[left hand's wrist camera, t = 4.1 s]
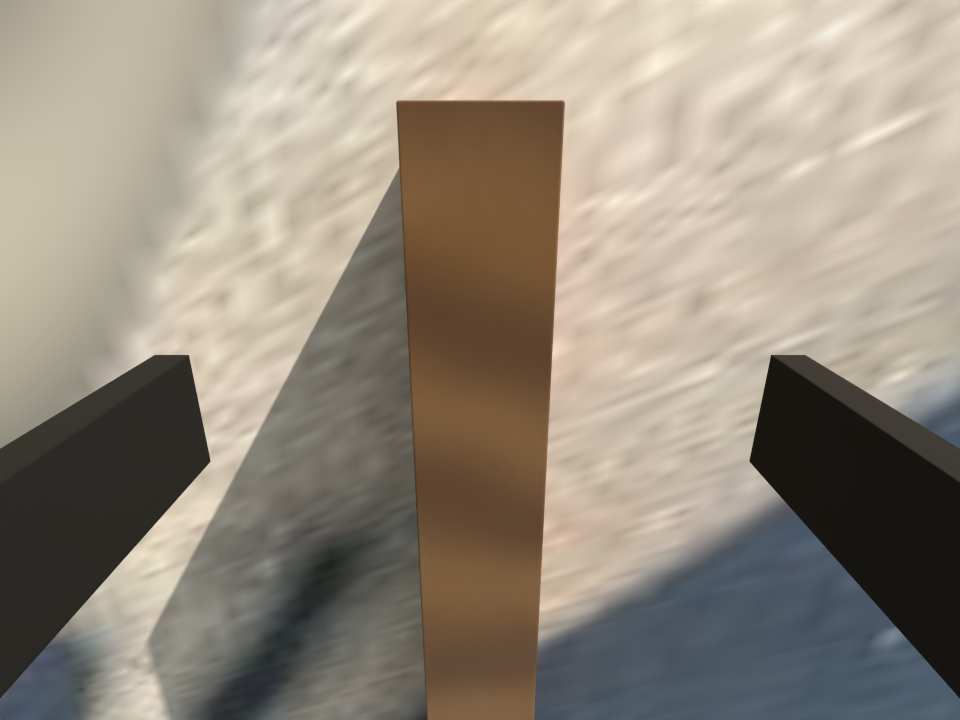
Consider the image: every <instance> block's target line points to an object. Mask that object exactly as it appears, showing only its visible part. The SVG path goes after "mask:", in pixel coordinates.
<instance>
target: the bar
mask: <svg viewBox="0 0 960 720" xmlns="http://www.w3.org/2000/svg"><path fill="white" fill-rule="evenodd" d="M396 106H397V126H398V146H399V166H400V186H401V206H402V226H403V246H404V266H405V286H406V306H407V326H408V346H409V366H410V386H411V406H412V426H413V445H414V465H415V485H416V505H417V525H418V545H419V565H420V585H421V605H422V625H423V645H424V665H425V685H426V705H427V720H534V703H535V683H536V663H537V643H538V624H539V604H540V584H541V564H542V544H543V525H544V505H545V485H546V465H547V445H548V426H549V406H550V386H551V366H552V346H553V327H554V307H555V287H556V267H557V247H558V228H559V208H560V188H561V168H562V148H563V129H564V109H565V102H564V101H397V102H396Z"/></svg>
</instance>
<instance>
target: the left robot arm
mask: <svg viewBox="0 0 960 720" xmlns="http://www.w3.org/2000/svg"><path fill="white" fill-rule="evenodd" d="M209 463H210V456H209V452H208V447H207V442H206V437H205V432H204V427H203V422H202V417H201V412H200V408H199V403H198V398H197V393H196V388H195V383H194V378H193V373H192V369H191V364H190V359H189V355H154V356H153V357H151V358H149V359H148V360H146V361H144V362H143V363H141V364H139V365H138V366H136V367H134V368H133V369H131V370H129V371H128V372H126V373H125V374H123V375H121V376H120V377H118V378H116V379H115V380H113V381H111V382H110V383H108V384H106V385H105V386H103V387H101V388H100V389H98V390H96V391H95V392H93V393H92V394H90V395H88V396H87V397H85V398H83V399H82V400H80V401H78V402H77V403H75V404H73V405H72V406H70V407H68V408H67V409H65V410H63V411H62V412H60V413H59V414H57V415H55V416H54V417H52V418H50V419H49V420H47V421H45V422H44V423H42V424H40V425H39V426H37V427H35V428H34V429H32V430H30V431H29V432H27V433H26V434H24V435H22V436H21V437H19V438H17V439H16V440H14V441H12V442H11V443H9V444H7V445H6V446H4V447H3V448H1V449H0V698H1V697H2V696H3V695H4V693H5V692H6V691H7V690H8V689H9V688H10V687H11V686H12V684H13V683H14V682H15V681H16V680H17V679H18V678H19V677H20V675H21V674H22V673H23V672H24V671H25V670H26V669H27V668H28V666H29V665H30V664H31V663H32V662H33V661H34V660H35V658H36V657H37V656H38V655H39V654H40V653H41V652H42V651H43V649H44V648H45V647H46V646H47V645H48V644H49V643H50V642H51V640H52V639H53V638H54V637H55V636H56V635H57V634H58V633H59V631H60V630H61V629H62V628H63V627H64V626H65V625H66V624H67V622H68V621H69V620H70V619H71V618H72V617H73V616H74V615H75V613H76V612H77V611H78V610H79V609H80V608H81V607H82V606H83V604H84V603H85V602H86V601H87V600H88V599H89V598H90V597H91V595H92V594H93V593H94V592H95V591H96V590H97V589H98V588H99V586H100V585H101V584H102V583H103V582H104V581H105V580H106V579H107V577H108V576H109V575H110V574H111V573H112V572H113V571H114V570H115V568H116V567H117V566H118V565H119V564H120V563H121V562H122V561H123V559H124V558H125V557H126V556H127V555H128V554H129V553H130V552H131V550H132V549H133V548H134V547H135V546H136V545H137V544H138V543H139V541H140V540H141V539H142V538H143V537H144V536H145V535H146V534H147V532H148V531H149V530H150V529H151V528H152V527H153V526H154V525H155V523H156V522H157V521H158V520H159V519H160V518H161V517H162V516H163V514H164V513H165V512H166V511H167V510H168V509H169V508H170V506H171V505H172V504H173V503H174V502H175V501H176V500H177V499H178V497H179V496H180V495H181V494H182V493H183V492H184V491H185V490H186V488H187V487H188V486H189V485H190V484H191V483H192V482H193V481H194V479H195V478H196V477H197V476H198V475H199V474H200V473H201V472H202V470H203V469H204V468H205V467H206V466H207V465H208V464H209ZM750 463H751V464H752V465H753V466H754V467H755V468H756V469H757V470H758V472H759V473H760V474H761V475H762V476H763V477H764V478H765V479H766V481H767V482H768V483H769V484H770V485H771V486H772V487H773V488H774V490H775V491H776V492H777V493H778V494H779V495H780V496H781V497H782V499H783V500H784V501H785V502H786V503H787V504H788V505H789V506H790V508H791V509H792V510H793V511H794V512H795V513H796V514H797V516H798V517H799V518H800V519H801V520H802V521H803V522H804V523H805V525H806V526H807V527H808V528H809V529H810V530H811V531H812V532H813V534H814V535H815V536H816V537H817V538H818V539H819V540H820V541H821V543H822V544H823V545H824V546H825V547H826V548H827V549H828V550H829V552H830V553H831V554H832V555H833V556H834V557H835V558H836V559H837V561H838V562H839V563H840V564H841V565H842V566H843V567H844V568H845V570H846V571H847V572H848V573H849V574H850V575H851V576H852V577H853V579H854V580H855V581H856V582H857V583H858V584H859V585H860V586H861V588H862V589H863V590H864V591H865V592H866V593H867V594H868V595H869V597H870V598H871V599H872V600H873V601H874V602H875V603H876V604H877V606H878V607H879V608H880V609H881V610H882V611H883V612H884V613H885V615H886V616H887V617H888V618H889V619H890V620H891V621H892V622H893V624H894V625H895V626H896V627H897V628H898V629H899V630H900V631H901V633H902V634H903V635H904V636H905V637H906V638H907V639H908V640H909V642H910V643H911V644H912V645H913V646H914V647H915V648H916V649H917V651H918V652H919V653H920V654H921V655H922V656H923V657H924V658H925V660H926V661H927V662H928V663H929V664H930V665H931V666H932V668H933V669H934V670H935V671H936V672H937V673H938V674H939V675H940V677H941V678H942V679H943V680H944V681H945V682H946V683H947V684H948V686H949V687H950V688H951V689H952V690H953V691H954V692H955V693H956V695H957V696H958V697H959V698H960V449H959V448H958V447H956V446H954V445H953V444H951V443H949V442H948V441H946V440H944V439H943V438H941V437H939V436H938V435H936V434H934V433H933V432H931V431H930V430H928V429H926V428H925V427H923V426H921V425H920V424H918V423H916V422H915V421H913V420H911V419H910V418H908V417H906V416H905V415H903V414H901V413H900V412H898V411H897V410H895V409H893V408H892V407H890V406H888V405H887V404H885V403H883V402H882V401H880V400H878V399H877V398H875V397H873V396H872V395H870V394H868V393H867V392H865V391H864V390H862V389H860V388H859V387H857V386H855V385H854V384H852V383H850V382H849V381H847V380H845V379H844V378H842V377H840V376H839V375H837V374H835V373H834V372H832V371H831V370H829V369H827V368H826V367H824V366H822V365H821V364H819V363H817V362H816V361H814V360H812V359H811V358H809V357H807V356H806V355H771V359H770V364H769V369H768V373H767V378H766V383H765V388H764V393H763V398H762V403H761V408H760V412H759V417H758V422H757V427H756V432H755V437H754V442H753V447H752V452H751V456H750Z"/></svg>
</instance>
